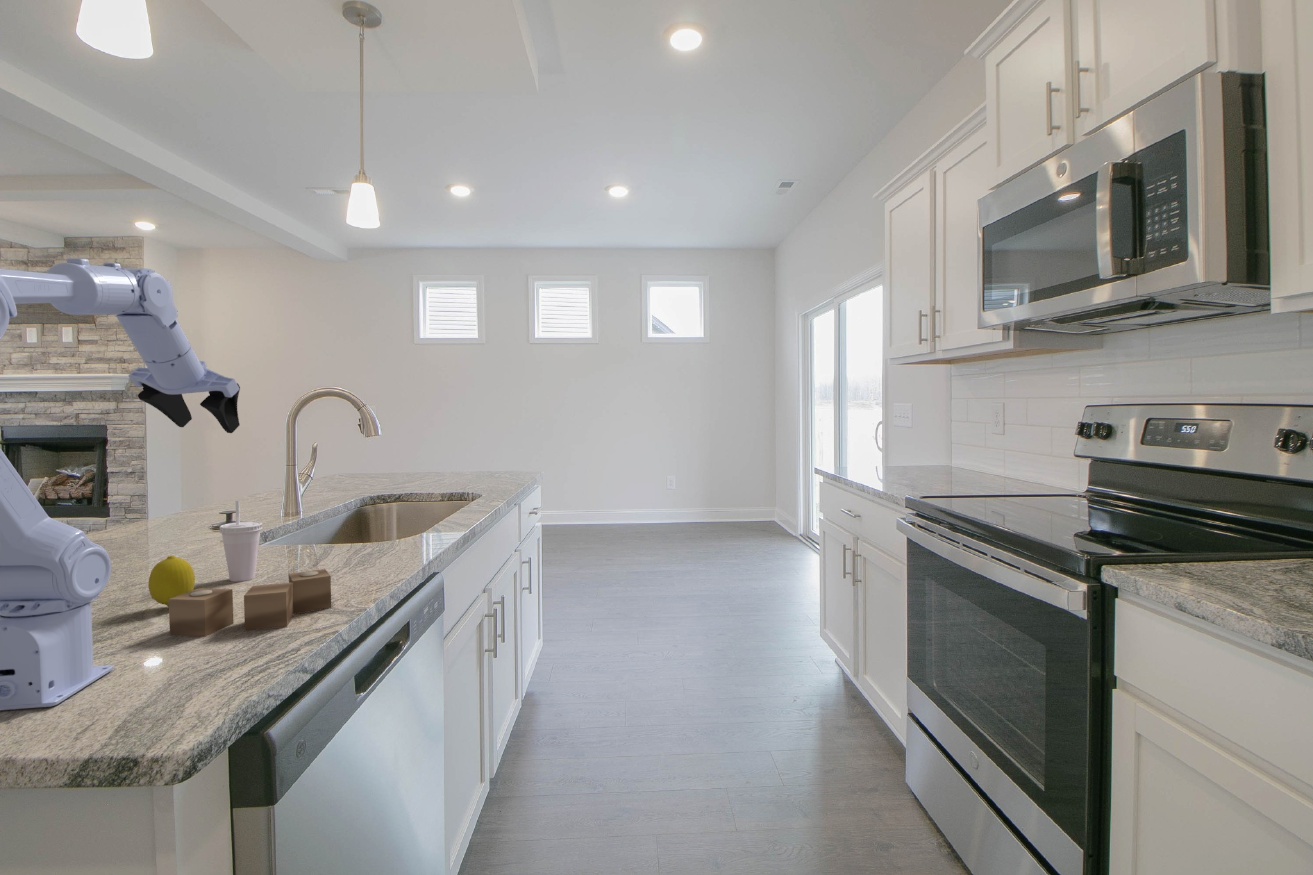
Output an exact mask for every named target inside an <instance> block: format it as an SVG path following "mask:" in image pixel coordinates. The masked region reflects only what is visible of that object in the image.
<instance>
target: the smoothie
mask: <svg viewBox="0 0 1313 875" xmlns="http://www.w3.org/2000/svg"><path fill="white" fill-rule="evenodd" d="M240 510H241V508H240V500H235V519H236V521H235V522H230V523H225V524H222V525H220V526H219V532H218V533H220V534H221V537H222V543H223V548H224V553H225V558H226V559H225V560H226V565H227V570H228V577H229V581H230V582H233V583H234V582H238V583H239V582H245V581H246V582H247V581H250V580H253V579H255V578H256V570H257V561H258V553H259V545H260V537H261V536H260V534H261V530H262V529H263V523H262V522H260V521H241V514H240V513H241V511H240Z"/></svg>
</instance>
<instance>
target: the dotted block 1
mask: <svg viewBox="0 0 1313 875" xmlns="http://www.w3.org/2000/svg"><path fill="white" fill-rule="evenodd" d="M233 592H234V591H233V588H202V587H201V588H199V587H198V588H196V589H195V588H194V589H193V591H190V592H187V593H184V594H182V595H179V596H176V597H173V598H171V599H169V607H168V616H169V618H168V620H169V636H171V637H174V636H175V637H177V636H178V637H203V638H204V637H206V638H207V637H208V636H210V635H212V634H215V633H216V632H218V631H221V630H222V629H225V628H227V627H229V626H232V625H234V603H233V602H234V599H233V598H234V597H233V594H234V593H233Z"/></svg>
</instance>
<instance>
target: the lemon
mask: <svg viewBox="0 0 1313 875" xmlns="http://www.w3.org/2000/svg"><path fill="white" fill-rule="evenodd" d="M195 577H196V576H195V572H194V569H193V567H192V565H191V564H190V563H189V562H188V561H187V560H185V559H184V558H180V557H176V556H175V555H169V556H167V557H166V558H165V559H163V560H161V561H159V562H157V563H156V564H155V565H154V566H153V568H152V570H151V571H150V574H149V578H148V583H147V584H148V591H149V594H150V596H151V598H152V599H153V600H154V601H155V602H157V603H159V604H160V605H165V606H167V607H168V608H169V599H171V598H173V597H176V596H179V595H182V594H184V593H187V592H190V591H193V590H195V585H196V584H195V583H196V578H195Z"/></svg>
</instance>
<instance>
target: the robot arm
mask: <svg viewBox="0 0 1313 875" xmlns="http://www.w3.org/2000/svg"><path fill="white" fill-rule="evenodd" d="M20 304H23V305H26V304H27V305H28V304H50V305H52V307H53V308H54V309H56V310H58V311H59V312H61V313H63V314H67V315H71V316H103V315H105V316H111V315H114V316H115V317H116V318H117V321H118V322H119V323H120V326H121V327H122V328H123V330H124V332H125V333H126V335H127V337H128V338H129V339H130V342H132V345H133V346H134V348H135V349H136V351H137V352H138V355H139V356H140V357H141V359H142V361H143V363H144V364H145V366H146V367H137V368H136V369H134V370H133V371H132V372H131V373H129V374H128V378H129V380H130V381H131V382H132V384H133V385H134V387H139V388H140V387H141V388H142V389H141V391H140V392H139V393H138V395H137V398H138V399H139V400H140V401H142V402H144V403H146V404H148V405H150V406H152V407H153V408H156V410H158V411H159V412H161V413H162V414H163V415H164V416H166V417H167V418H168V419H170V421H172V422H173V423H174V424H175V425H176V426H177V427H179V428H184V427H186V425H187V424H189V423H190V421H192V419H193V416H192V414H191V412H190V409H189V407H188V406H187V404H186V402H185V399H184V397H183V395H185V394H193V393H206V392H207V393H208V394H209V395H207V396H206V397H205V398H204V399H203V400H202V401H201V402H200V403H199V405H200V407H202V408H204V409H205V410H207V411H208V412H209V413H210V414H212V416H213V417H214V418H215V419H216V420H217V422H218V424H220V426H221V427H222V429H223V430H224V431H225V432H226V433H227V434H233V433H234V432H235V431H236V430H237V428H239V427H240V420H239V413H238V401H239V400H238V399H239V394H240V391H241V386H240V384H239V383H238V382H237V381H236V379H235V378H232V377H228V376H224V375H222V374H219V373H218V372H216V371H213V370H211V369H208V368H207V367H208V365H207V363H206V361H204V360H199V358H198V356H197V354H196V352H195V351H194V349H193V346H192V345H191V343H190V341H189V339H188V337H187V336H186V334H185V331H184V330H183V328H182V326H181V325H180V322H179V321H178V319H177V318H178V317H179V315H178V310H177V307H176V306H175V303H174V292H173V287H172V284H171V282H170V280H169V279H165V277H164V276H163V275H162V274H160V273H158V272H156V271H155V270H153V269H151V268H143V267H142V268H141V267H140V268H138V267H137V268H135V267H134V268H133V267H131V268H130V267H122V266H121V264H120V263H118V262H104V263H103V264H102V265H96V264H95V265H94V264H90V260H89V259H87V258H71V257H70V258H69V257H68V258H66V262H61V263H57V264H55V265H52V266H51V267H50V268H48V270H47V271H46V272H37V271H28V270H27V271H26V270H18V269H17V270H16V269H7V268H0V341H1V339H2V338H3V337H4V335H5V333H6V332H7V330H8V327H9V324H10V319H11V318H13V319H14V318H16V317H17V316H18V311H17V306H16V305H20ZM17 471H18V470H17V469H16V468H15V467H14V466H13V464H12V462H11V461H10V460H9V459H8V457H7V455H6V454H5V452H3V450H2V449H1V447H0V711H8V710H21V709H34V708H35V709H36V708H47V707H49V708H50V707H53V706H56V705H58V704H60V703H62V702H63V701H65V700H66V699H68V698H70V697H71V696H73V695H74V694H76V693H78V692H79V691H81V690H83V689H85V688H86V687H87V686H88V685H90V684H92V683H94V682H95V681H97V680H98V679H100V678H101V677H103V676H104V675H106V674H108V673H110V672H112V671H113V670H114V668H115V667H114V664H108V665H107V664H106V665H104V664H103V665H94V648H93V647H94V646H93V645H94V644H93V621H92V619H93V618H92V617H93V616H92V602H94V601H96V600H98V599H99V595H100V594H102V592H103V591H104V589H105V588H106V587H107V584H108V583H109V581H110V578H111V575H112V561H111V558H110V555H109V553H108V551H107V550H106V548H104V547H103V546H101V545H100V544H98V543H94V542H93V541H91V540H90V539H89V538H88V537H87V535H86V533H85V532H84V531H83V530H82V529H79V528H77V527H74V526H72V525H69V524H67V523H64V522H62V521H59V520H57V519H55V518H51V517H50V516H49V515H48V514H47V512H46V511H45V510H44V507H43V506H42V505H41V504H40V502H39V501H38V499H37V498H36V496H35V495H34V494H33V493H32V491H31V489H30V488H29V487H28V486H27V484H26V483H25V481H24V480H23V478H22V477H21V475H20V474H19V473H18V472H17Z"/></svg>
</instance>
